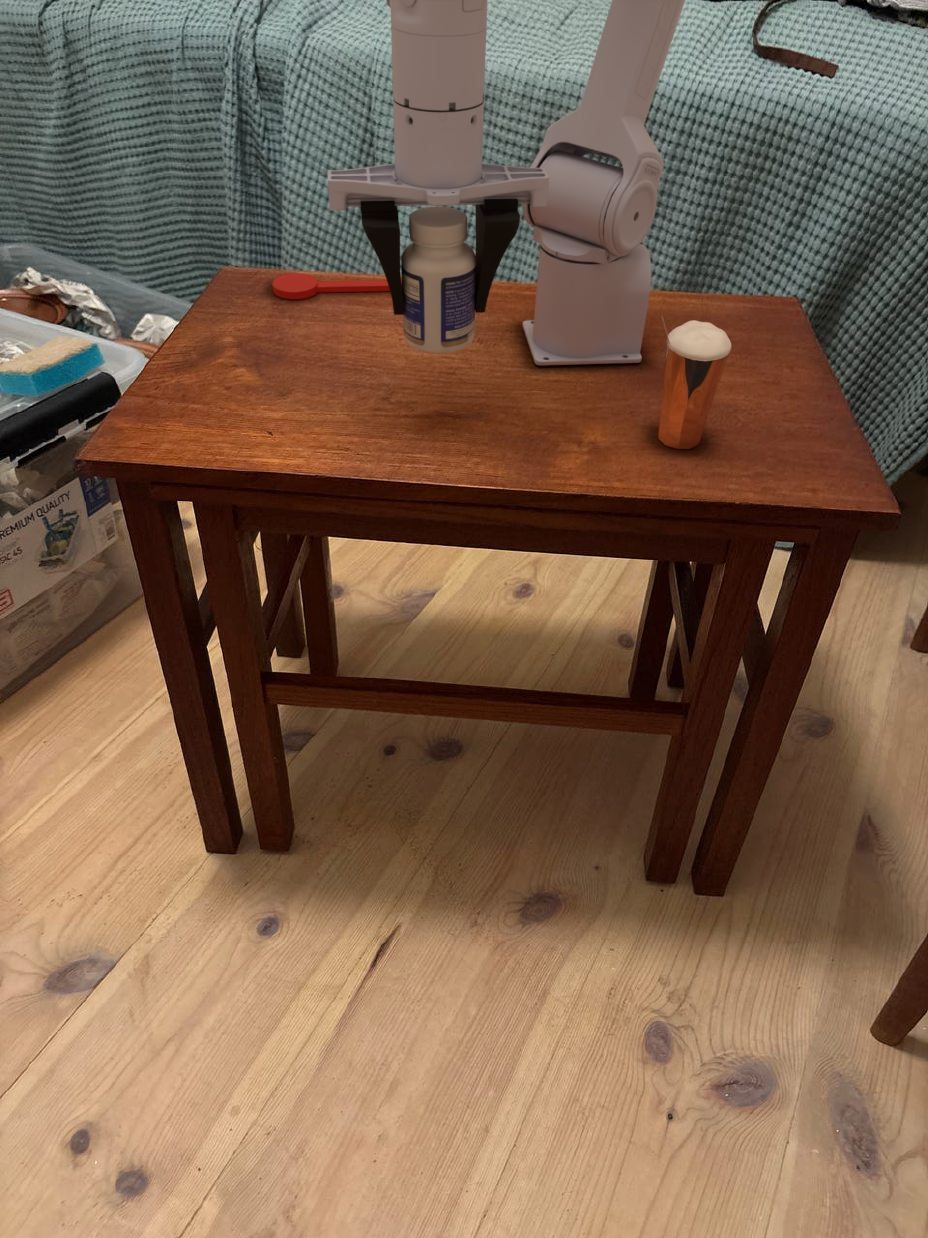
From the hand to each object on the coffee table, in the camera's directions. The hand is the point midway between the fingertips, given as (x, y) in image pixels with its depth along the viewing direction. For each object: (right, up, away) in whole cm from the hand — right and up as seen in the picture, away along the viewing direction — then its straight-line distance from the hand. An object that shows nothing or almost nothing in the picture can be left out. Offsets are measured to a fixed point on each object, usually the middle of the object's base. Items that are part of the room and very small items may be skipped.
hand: (438, 307), depth 67 cm
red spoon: (-10, +10, +24) cm, 27 cm away
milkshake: (+18, -9, +5) cm, 21 cm away
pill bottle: (0, -2, +2) cm, 3 cm away
